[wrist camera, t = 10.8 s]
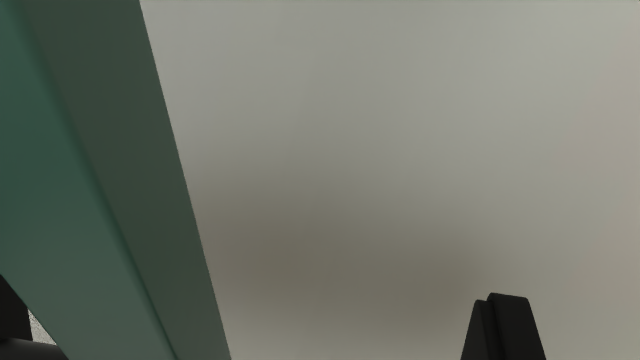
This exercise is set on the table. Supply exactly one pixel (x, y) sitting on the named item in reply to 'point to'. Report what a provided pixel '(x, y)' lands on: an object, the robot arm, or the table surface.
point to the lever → (96, 191)
